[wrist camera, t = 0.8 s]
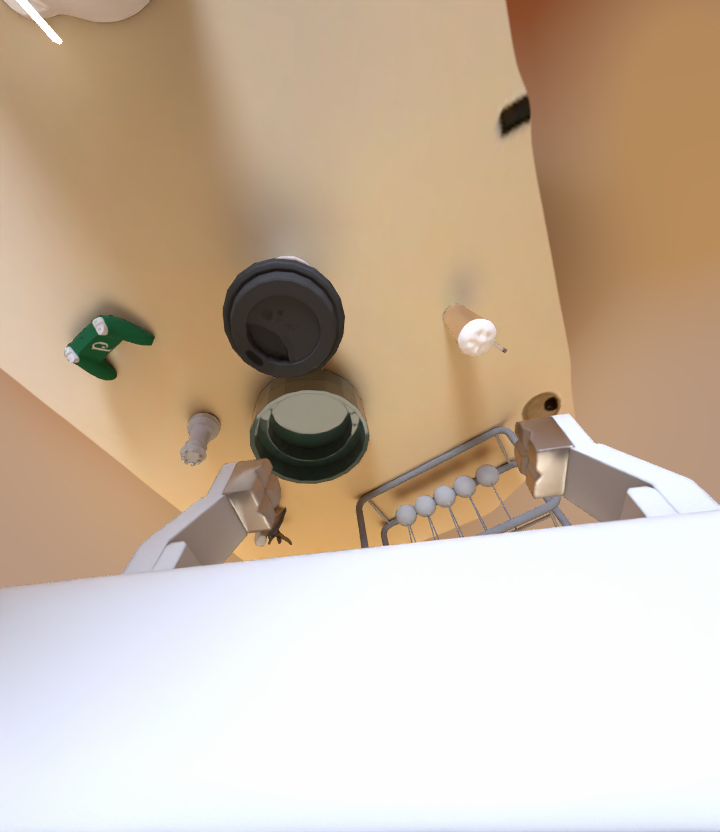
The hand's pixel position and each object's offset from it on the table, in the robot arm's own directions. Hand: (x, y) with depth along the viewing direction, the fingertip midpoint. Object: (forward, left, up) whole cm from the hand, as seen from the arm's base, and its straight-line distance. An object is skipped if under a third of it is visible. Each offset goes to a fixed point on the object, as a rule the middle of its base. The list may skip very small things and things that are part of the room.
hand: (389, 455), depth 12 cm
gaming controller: (-13, -26, -38) cm, 48 cm away
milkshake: (+18, +6, -38) cm, 43 cm away
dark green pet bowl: (+13, -20, -38) cm, 45 cm away
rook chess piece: (+2, -30, -38) cm, 49 cm away
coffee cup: (-1, -7, -38) cm, 39 cm away
